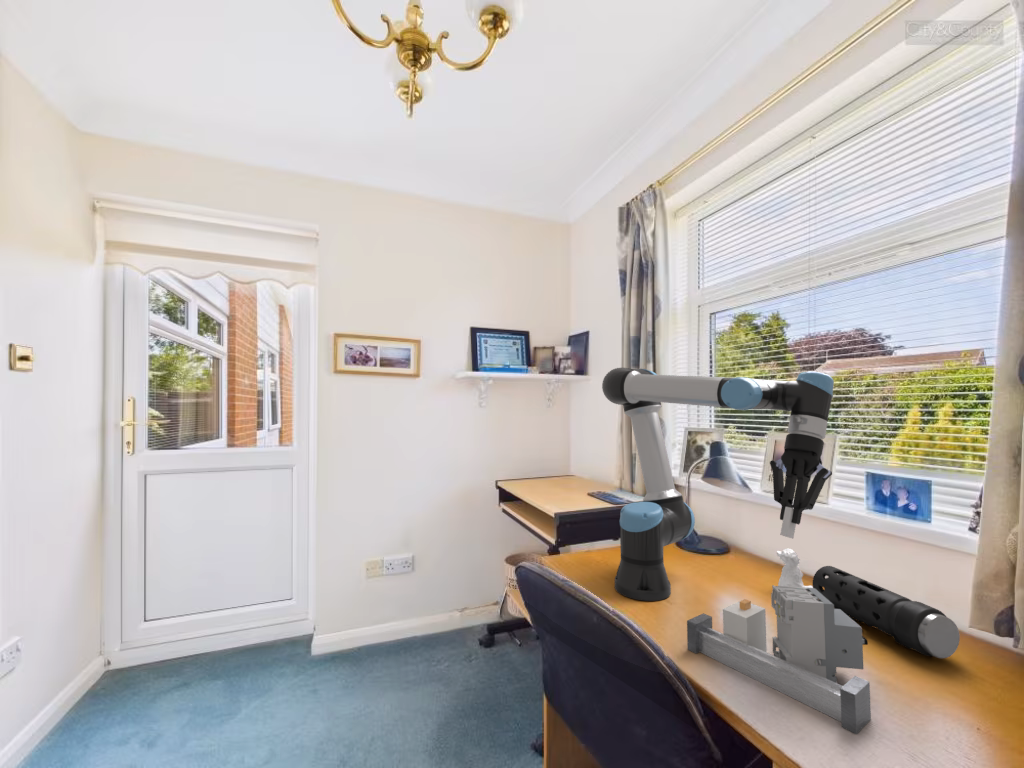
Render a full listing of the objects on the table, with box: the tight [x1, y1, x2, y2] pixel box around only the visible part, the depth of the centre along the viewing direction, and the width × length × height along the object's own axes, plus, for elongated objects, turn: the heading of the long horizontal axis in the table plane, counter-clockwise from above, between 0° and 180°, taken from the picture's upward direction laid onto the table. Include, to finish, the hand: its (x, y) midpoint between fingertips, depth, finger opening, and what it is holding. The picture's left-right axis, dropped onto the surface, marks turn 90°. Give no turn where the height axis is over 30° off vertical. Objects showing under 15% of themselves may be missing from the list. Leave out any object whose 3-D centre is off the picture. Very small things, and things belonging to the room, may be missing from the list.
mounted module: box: [722, 598, 768, 653], centre depth 95 cm, size 5×8×10 cm, turn 124°
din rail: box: [686, 613, 872, 735], centre depth 85 cm, size 30×6×6 cm, turn 34°
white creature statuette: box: [776, 547, 813, 588], centre depth 125 cm, size 10×9×12 cm
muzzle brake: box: [812, 565, 961, 660], centre depth 104 cm, size 10×28×10 cm, turn 7°
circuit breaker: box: [770, 584, 869, 683], centre depth 87 cm, size 8×14×15 cm, turn 78°
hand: (786, 536), depth 102 cm, fingers closed
